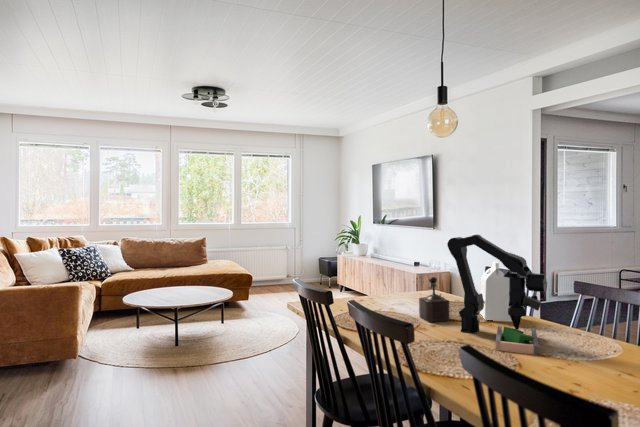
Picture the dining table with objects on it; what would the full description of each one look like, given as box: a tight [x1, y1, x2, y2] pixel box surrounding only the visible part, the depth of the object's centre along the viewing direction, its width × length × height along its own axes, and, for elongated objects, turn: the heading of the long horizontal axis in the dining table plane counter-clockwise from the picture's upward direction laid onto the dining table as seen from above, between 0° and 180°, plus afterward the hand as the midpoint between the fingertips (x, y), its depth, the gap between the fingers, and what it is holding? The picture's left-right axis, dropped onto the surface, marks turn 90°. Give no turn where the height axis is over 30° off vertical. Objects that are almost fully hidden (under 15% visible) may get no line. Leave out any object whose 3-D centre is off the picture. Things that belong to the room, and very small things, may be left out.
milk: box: [479, 260, 513, 323], centre depth 211 cm, size 12×12×26 cm
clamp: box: [501, 326, 534, 344], centre depth 169 cm, size 12×6×9 cm, turn 1°
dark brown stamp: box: [418, 276, 450, 323], centre depth 211 cm, size 16×11×18 cm
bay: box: [494, 325, 539, 356], centre depth 173 cm, size 14×24×3 cm, turn 157°
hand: (516, 329), depth 178 cm, fingers closed
